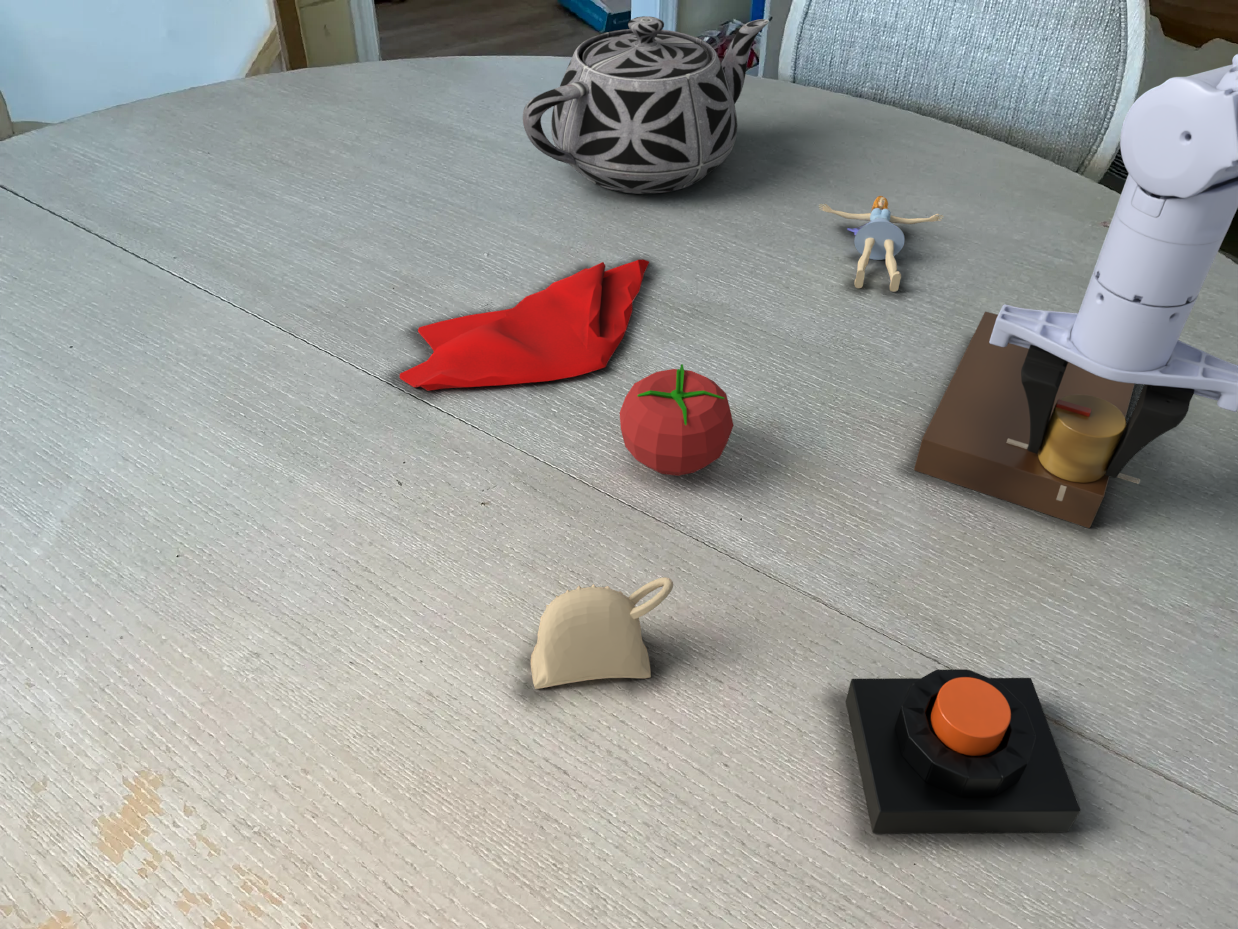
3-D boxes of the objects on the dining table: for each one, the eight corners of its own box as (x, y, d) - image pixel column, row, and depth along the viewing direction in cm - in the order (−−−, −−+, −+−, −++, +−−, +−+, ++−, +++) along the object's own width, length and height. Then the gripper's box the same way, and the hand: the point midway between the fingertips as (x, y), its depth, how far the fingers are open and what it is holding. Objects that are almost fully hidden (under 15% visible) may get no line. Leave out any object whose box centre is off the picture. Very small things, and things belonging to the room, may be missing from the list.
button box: (1020, 700, 57) (1040, 657, 55) (1068, 833, 51) (1093, 791, 49) (845, 701, 57) (856, 658, 55) (872, 834, 51) (886, 793, 49)
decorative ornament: (529, 633, 61) (524, 574, 57) (667, 623, 61) (670, 564, 58) (531, 689, 58) (526, 630, 54) (676, 678, 58) (680, 619, 55)
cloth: (446, 434, 75) (442, 410, 73) (370, 343, 83) (366, 320, 81) (723, 323, 85) (725, 300, 84) (632, 253, 94) (632, 231, 92)
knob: (1111, 452, 69) (1133, 403, 66) (1100, 491, 66) (1122, 441, 63) (1044, 432, 70) (1063, 382, 67) (1031, 469, 67) (1049, 419, 64)
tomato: (734, 429, 75) (743, 345, 70) (724, 502, 69) (733, 415, 64) (628, 417, 76) (629, 333, 71) (609, 488, 70) (609, 402, 65)
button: (991, 696, 53) (999, 676, 52) (1011, 756, 51) (1020, 736, 50) (923, 696, 53) (930, 676, 52) (939, 756, 51) (947, 737, 49)
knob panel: (1154, 391, 79) (1169, 358, 77) (1113, 555, 66) (1130, 521, 64) (976, 341, 84) (985, 309, 81) (906, 485, 71) (915, 451, 68)
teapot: (817, 157, 109) (838, 12, 99) (586, 244, 95) (582, 85, 85) (701, 100, 120) (710, -36, 110) (480, 170, 106) (466, 22, 96)
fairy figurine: (815, 251, 87) (822, 174, 95) (808, 294, 91) (815, 217, 99) (952, 264, 86) (947, 185, 94) (939, 308, 89) (936, 228, 97)
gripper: (1288, 280, 59) (1197, 455, 68) (1032, 221, 64) (980, 391, 73) (1281, 342, 54) (1185, 521, 63) (1006, 273, 59) (954, 447, 68)
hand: (1074, 456), depth 68 cm, fingers closed on knob, 4 cm apart
